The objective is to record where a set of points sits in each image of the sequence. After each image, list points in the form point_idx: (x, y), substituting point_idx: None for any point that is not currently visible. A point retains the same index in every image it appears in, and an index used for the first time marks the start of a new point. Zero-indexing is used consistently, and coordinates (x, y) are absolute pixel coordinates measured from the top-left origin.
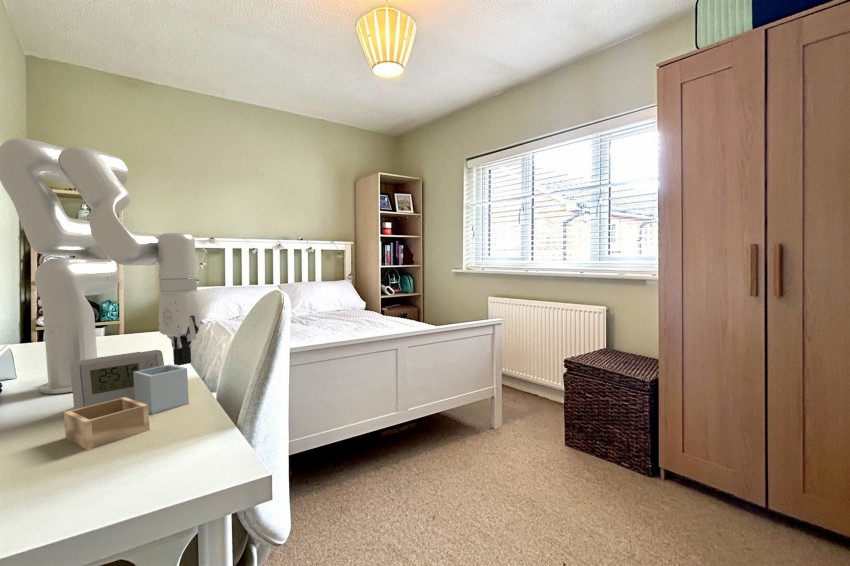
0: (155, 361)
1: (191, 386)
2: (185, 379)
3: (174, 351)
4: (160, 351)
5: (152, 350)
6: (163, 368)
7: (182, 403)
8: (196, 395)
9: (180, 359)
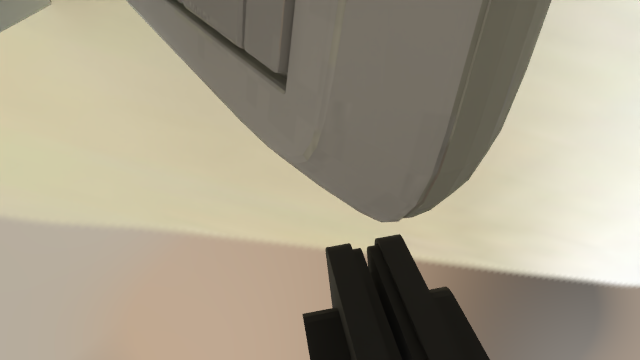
0: (223, 17)
1: (345, 214)
2: None
3: (427, 357)
4: (364, 206)
5: (446, 82)
6: None
7: None
8: (79, 171)
9: (337, 312)
